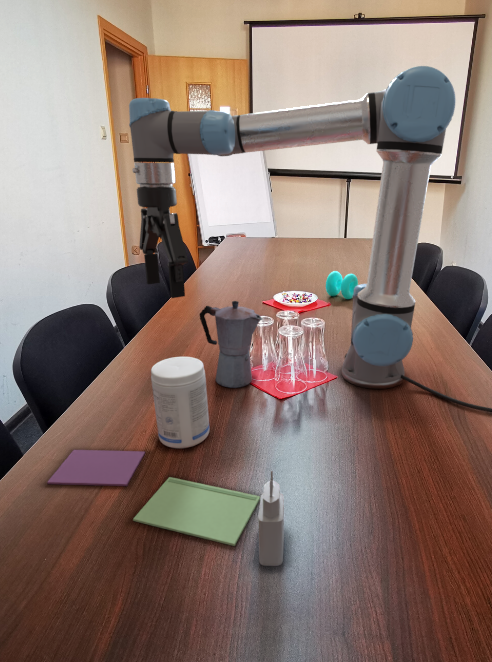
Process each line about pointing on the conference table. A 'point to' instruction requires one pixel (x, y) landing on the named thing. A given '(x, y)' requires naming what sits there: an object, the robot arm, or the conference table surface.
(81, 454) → the plum cloth
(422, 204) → the robot arm
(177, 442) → the supplement tub
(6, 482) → the conference table surface
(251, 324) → the moka pot
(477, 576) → the conference table surface
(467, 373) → the conference table surface
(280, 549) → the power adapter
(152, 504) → the sage cloth
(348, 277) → the turquoise yo-yo
